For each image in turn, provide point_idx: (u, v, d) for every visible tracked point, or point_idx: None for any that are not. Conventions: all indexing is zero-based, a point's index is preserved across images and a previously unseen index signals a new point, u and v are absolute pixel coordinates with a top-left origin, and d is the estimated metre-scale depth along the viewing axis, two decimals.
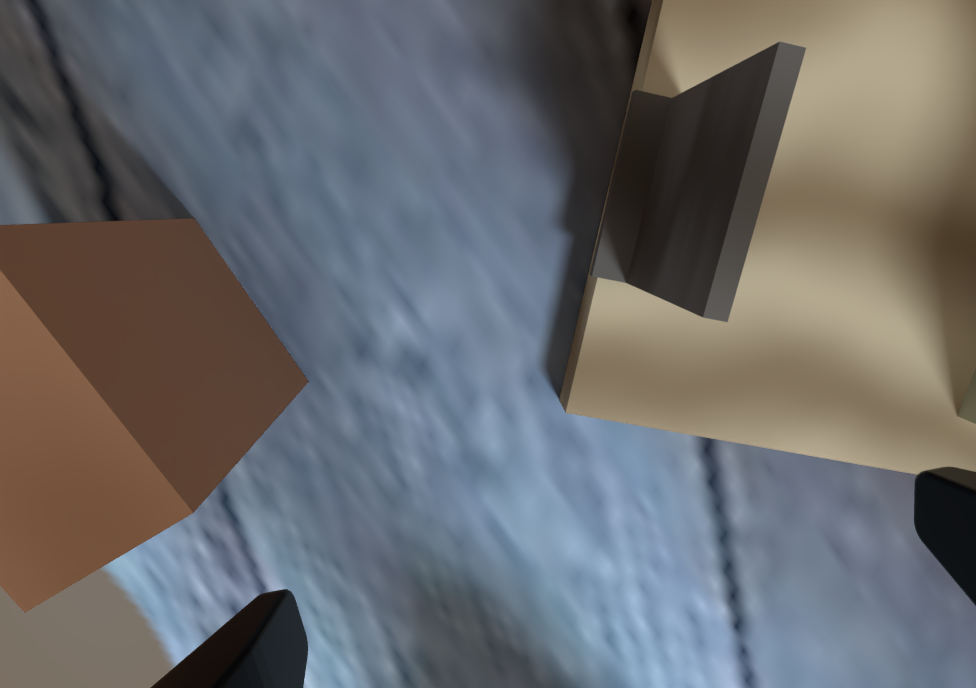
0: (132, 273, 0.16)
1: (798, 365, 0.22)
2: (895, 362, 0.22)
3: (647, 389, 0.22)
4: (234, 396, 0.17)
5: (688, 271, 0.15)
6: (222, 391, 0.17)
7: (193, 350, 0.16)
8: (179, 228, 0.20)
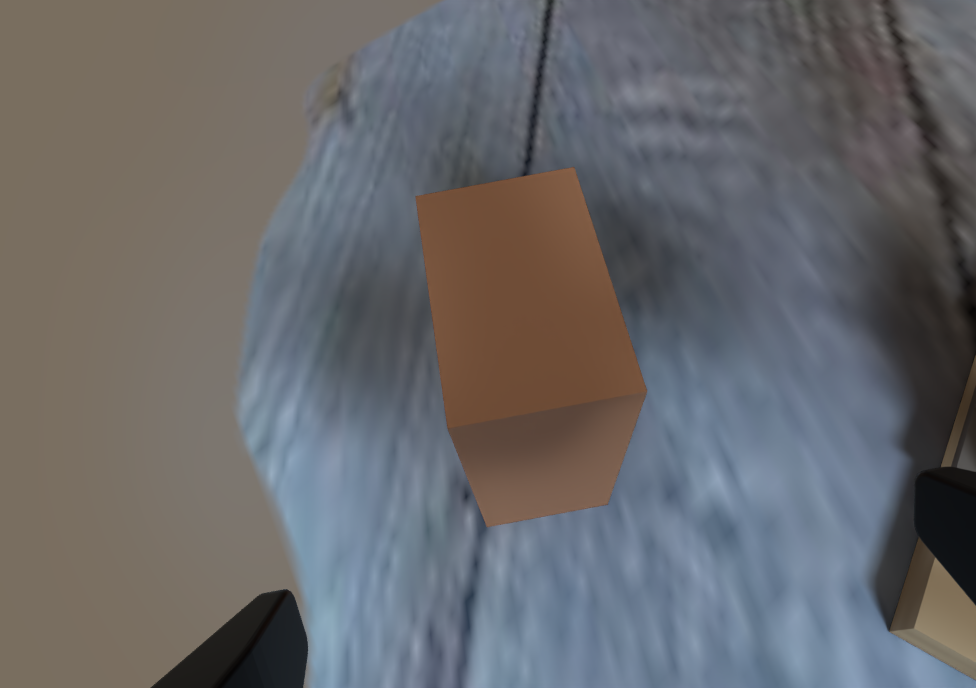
0: None
1: None
2: None
3: None
4: None
5: None
6: None
7: None
8: None
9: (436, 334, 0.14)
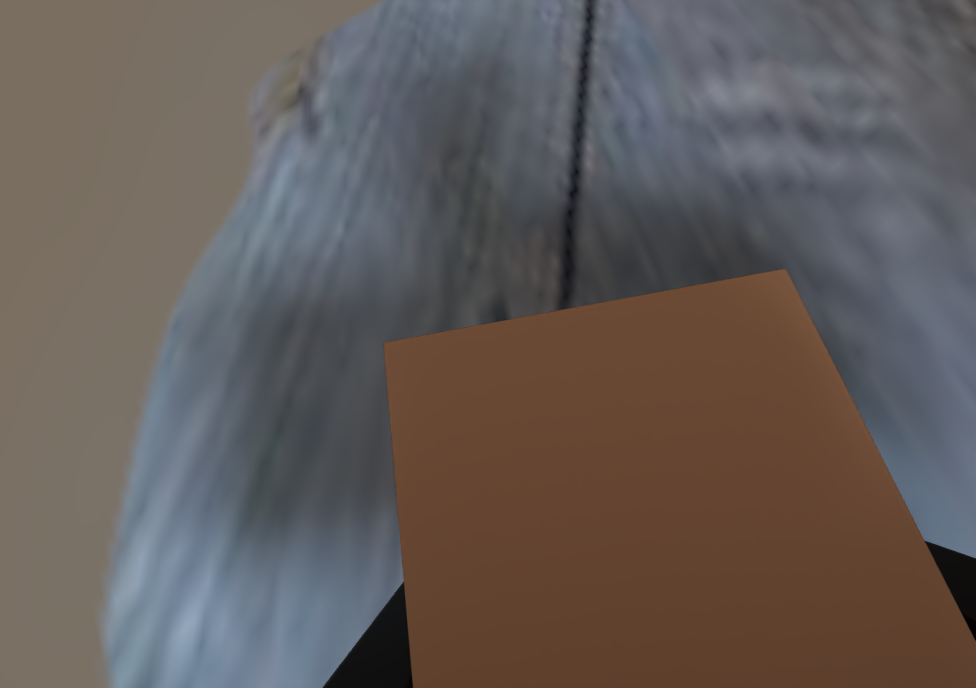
0: None
1: None
2: None
3: None
4: None
5: None
6: None
7: None
8: None
9: None
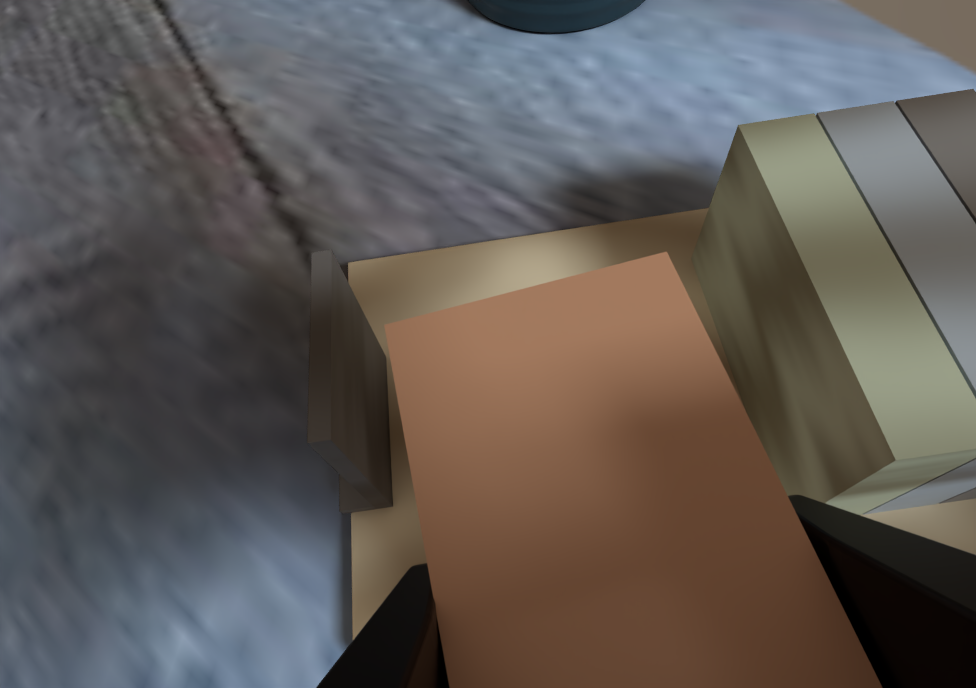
0: None
1: None
2: None
3: None
4: None
5: None
6: None
7: None
8: None
9: (446, 647, 0.07)
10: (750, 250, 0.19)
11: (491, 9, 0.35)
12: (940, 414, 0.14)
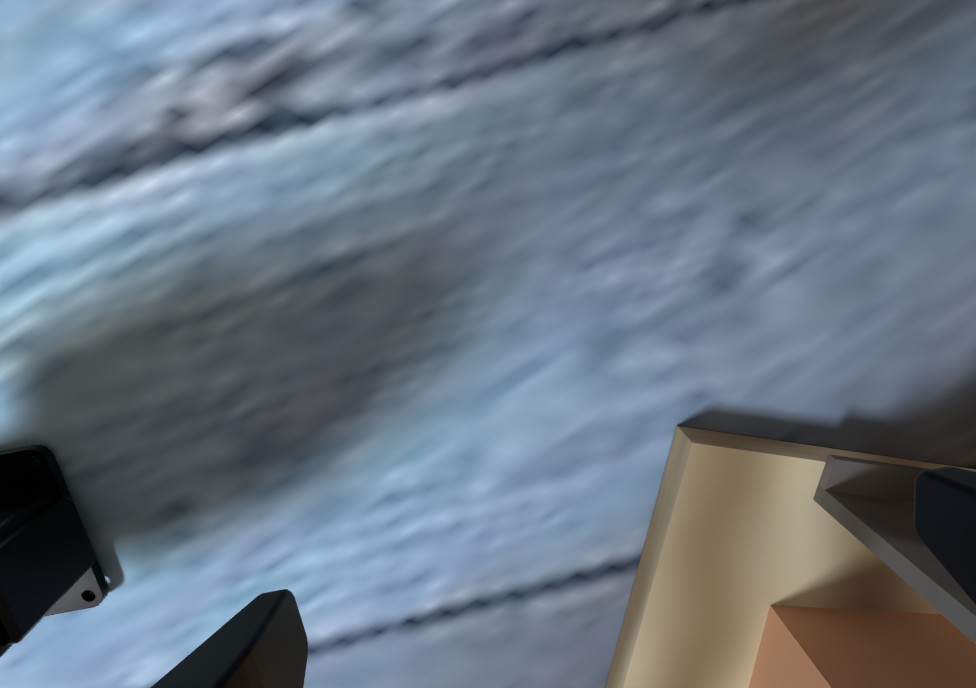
0: None
1: (719, 641, 0.23)
2: None
3: (709, 517, 0.22)
4: None
5: None
6: None
7: None
8: None
9: None
10: None
11: None
12: None
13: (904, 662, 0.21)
